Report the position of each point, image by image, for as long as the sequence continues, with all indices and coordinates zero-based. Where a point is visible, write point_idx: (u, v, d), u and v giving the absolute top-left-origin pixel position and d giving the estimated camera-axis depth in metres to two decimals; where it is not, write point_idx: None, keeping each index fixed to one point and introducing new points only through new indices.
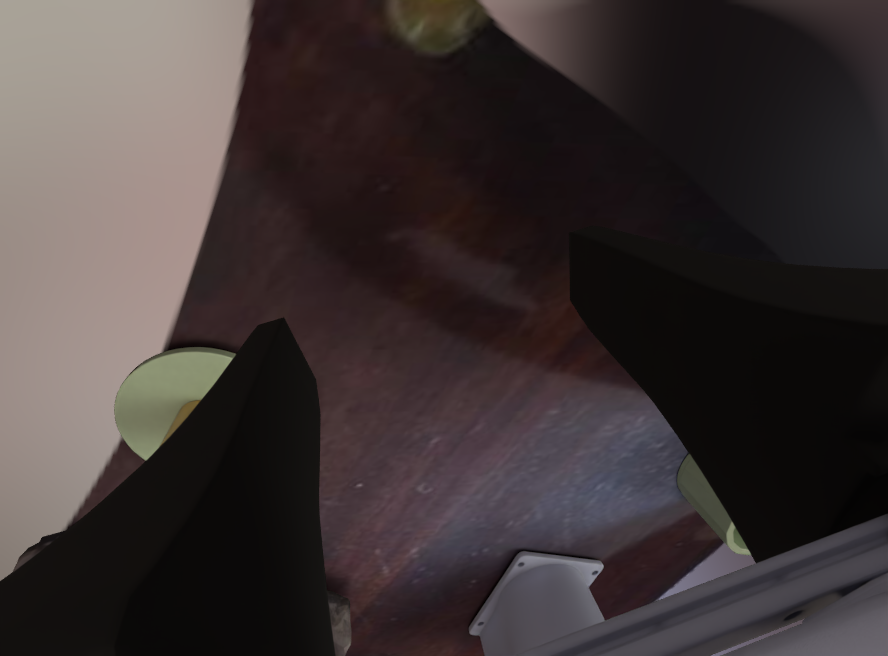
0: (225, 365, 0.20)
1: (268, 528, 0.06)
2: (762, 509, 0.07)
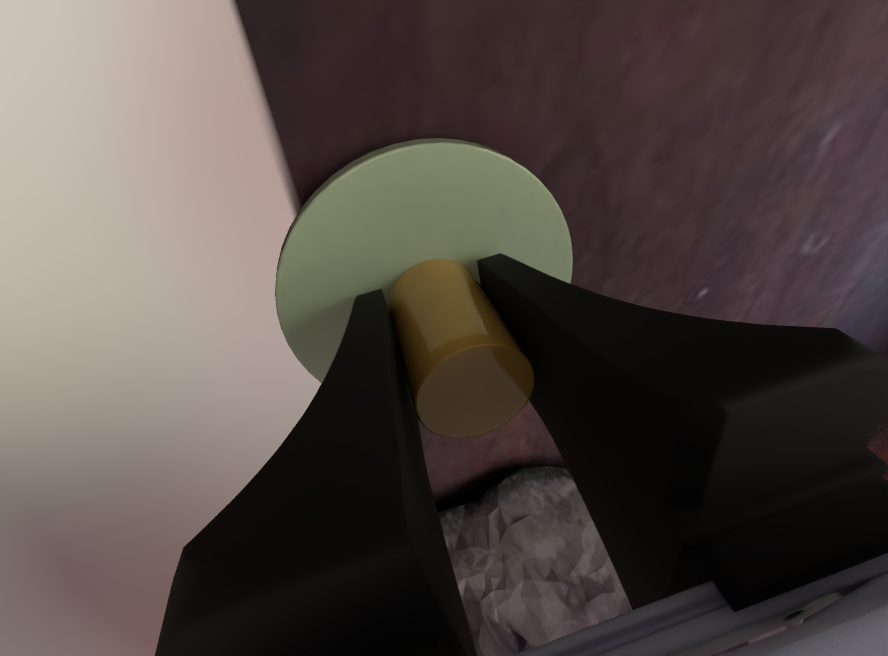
0: (416, 169, 0.09)
1: (419, 477, 0.07)
2: (628, 558, 0.07)
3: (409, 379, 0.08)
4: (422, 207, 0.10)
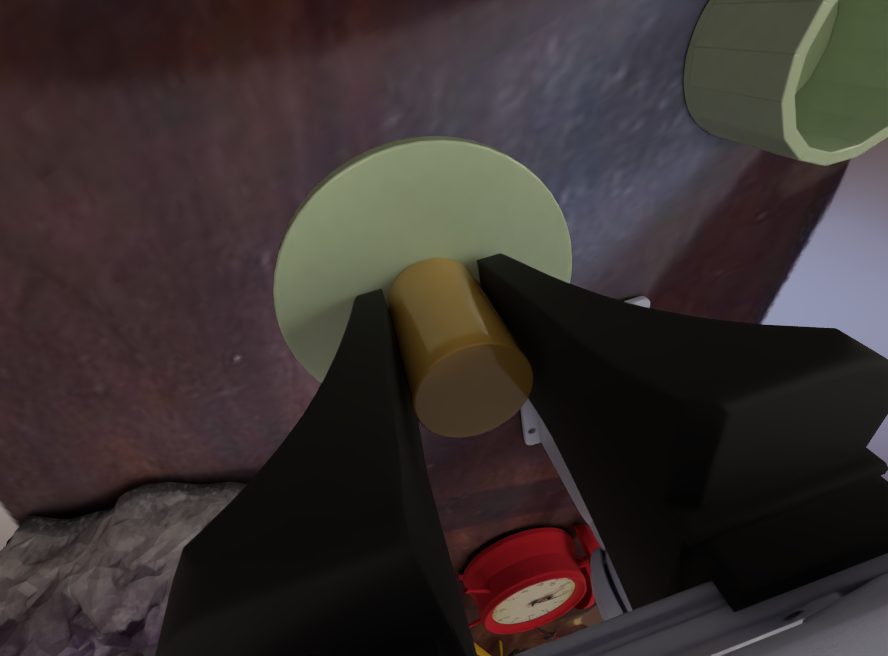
0: (414, 167, 0.09)
1: (418, 477, 0.07)
2: (628, 558, 0.07)
3: (407, 378, 0.08)
4: (420, 205, 0.10)
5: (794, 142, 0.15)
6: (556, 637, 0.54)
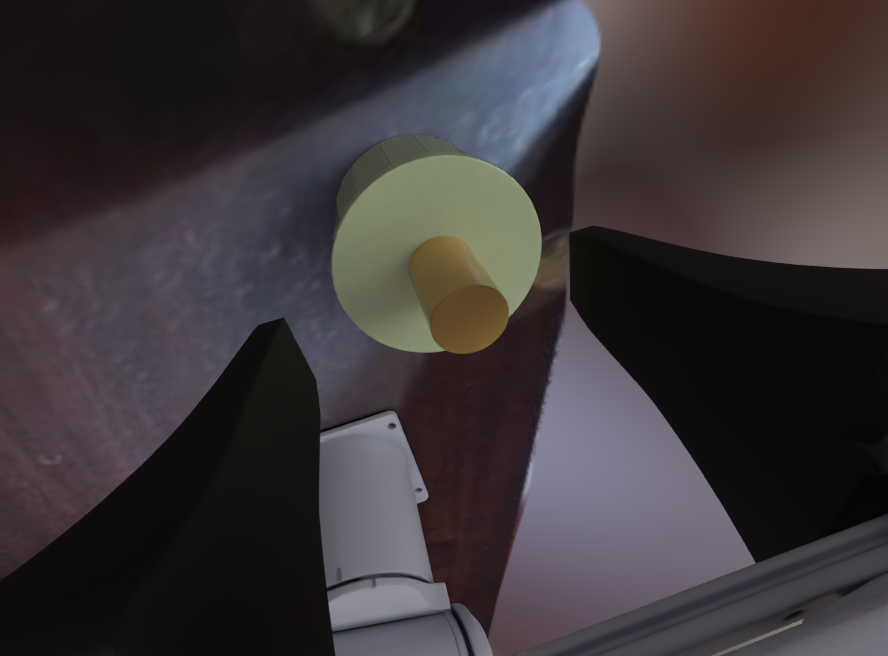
0: (429, 173, 0.13)
1: (268, 528, 0.06)
2: (762, 509, 0.07)
3: (426, 311, 0.13)
4: (433, 199, 0.14)
5: None
6: None
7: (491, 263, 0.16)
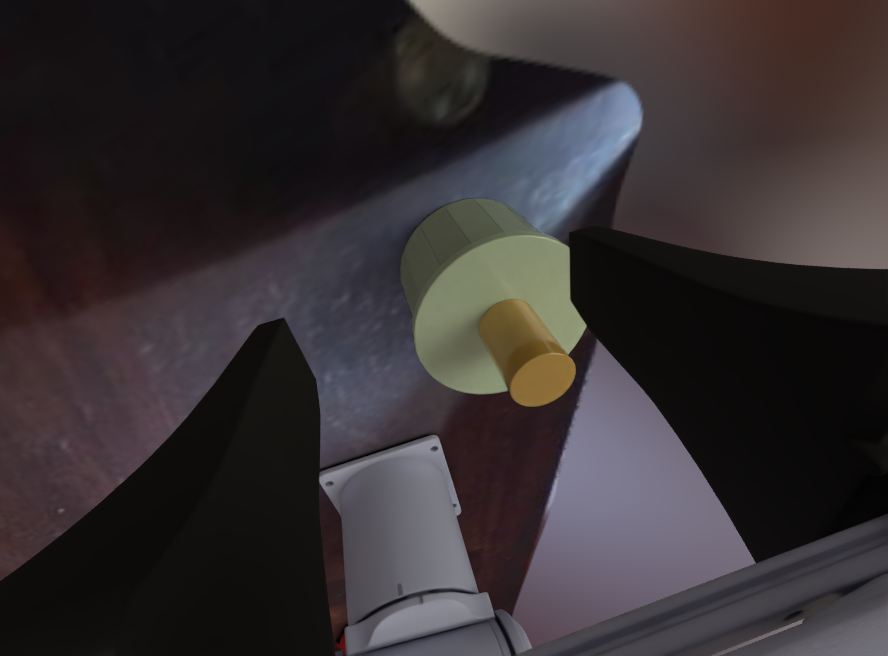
0: (505, 250, 0.16)
1: (268, 528, 0.06)
2: (762, 509, 0.07)
3: (505, 372, 0.15)
4: (505, 270, 0.16)
5: None
6: None
7: (549, 319, 0.18)
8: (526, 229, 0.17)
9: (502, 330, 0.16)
